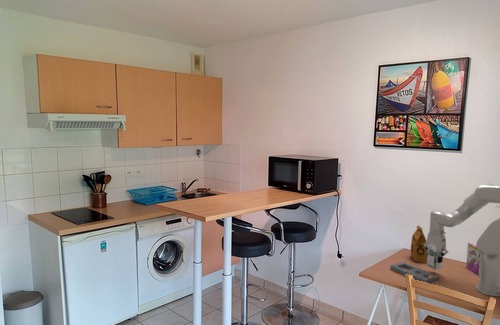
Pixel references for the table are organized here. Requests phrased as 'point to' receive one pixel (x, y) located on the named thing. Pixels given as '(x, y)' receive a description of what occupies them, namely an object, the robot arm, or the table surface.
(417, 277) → the gray compartment tray
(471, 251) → the candy bar box
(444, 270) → the table surface
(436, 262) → the syrup box
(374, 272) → the table surface
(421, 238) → the coffee package
